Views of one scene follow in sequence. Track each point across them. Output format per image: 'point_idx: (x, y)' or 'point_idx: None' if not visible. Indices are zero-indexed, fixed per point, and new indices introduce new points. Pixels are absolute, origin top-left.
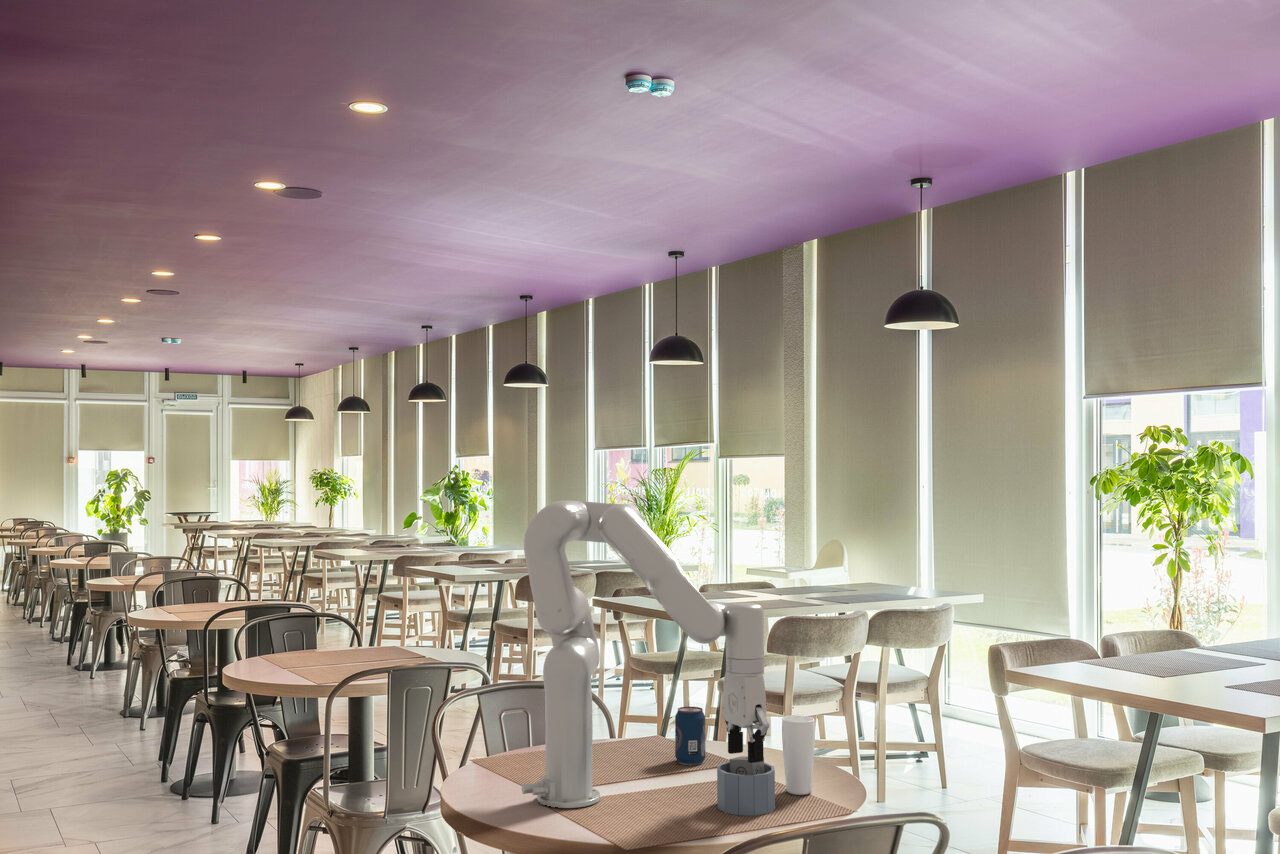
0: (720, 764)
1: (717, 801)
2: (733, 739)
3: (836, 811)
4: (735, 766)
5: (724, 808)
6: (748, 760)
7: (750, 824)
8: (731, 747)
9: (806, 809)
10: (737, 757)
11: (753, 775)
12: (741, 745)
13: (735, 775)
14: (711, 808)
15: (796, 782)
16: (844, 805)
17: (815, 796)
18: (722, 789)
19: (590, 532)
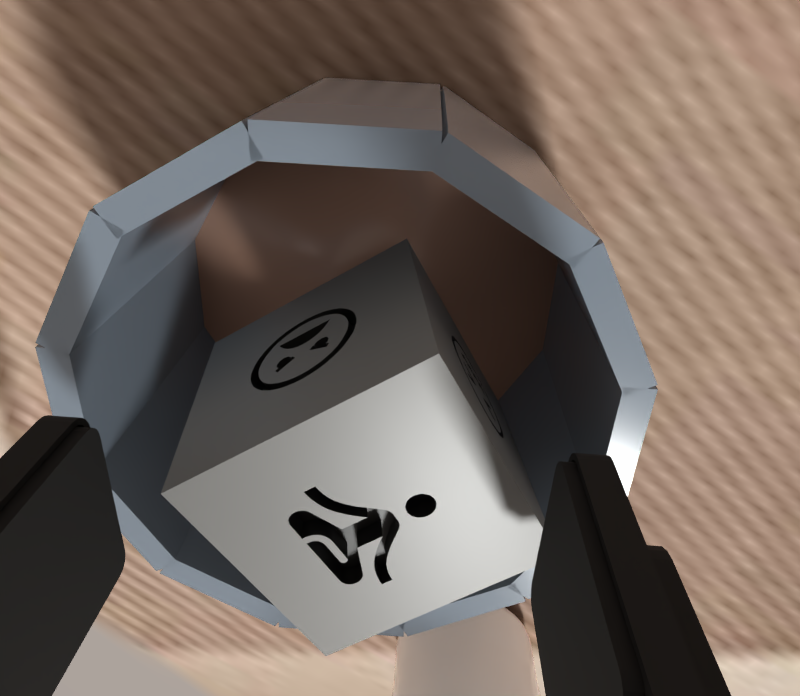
0: (610, 291)
1: (445, 92)
2: (589, 651)
3: (122, 597)
4: (364, 348)
5: (326, 79)
6: (57, 423)
7: (12, 90)
8: (570, 524)
9: None
10: (508, 487)
11: (48, 346)
12: (545, 650)
13: (123, 189)
14: (465, 39)
15: (416, 660)
16: (194, 661)
17: (368, 649)
18: (338, 97)
19: None
